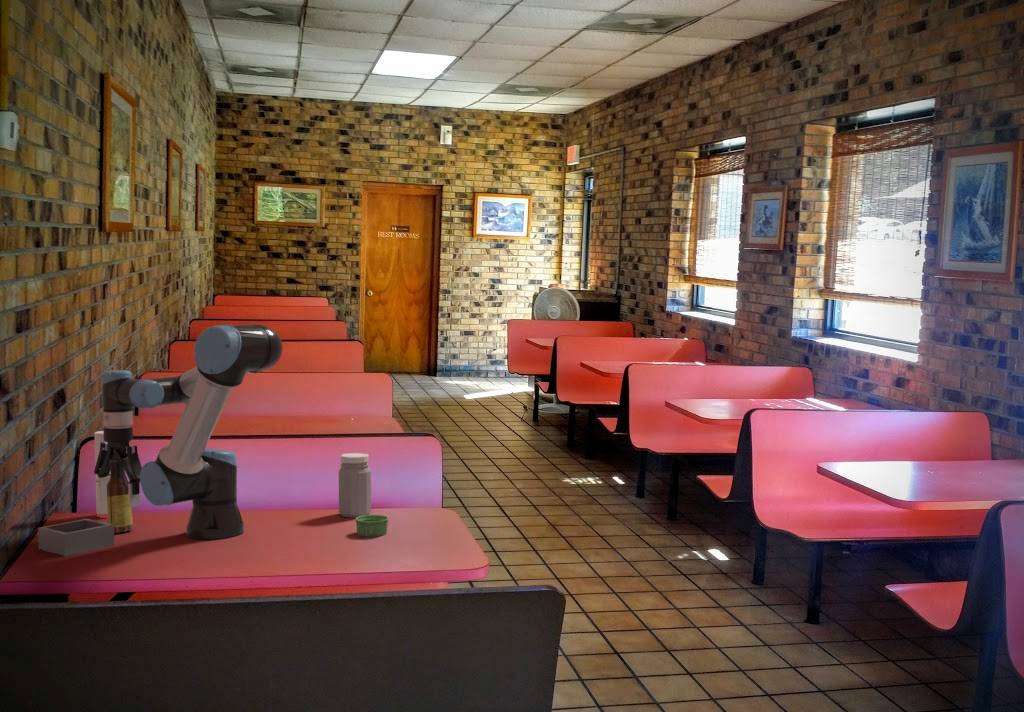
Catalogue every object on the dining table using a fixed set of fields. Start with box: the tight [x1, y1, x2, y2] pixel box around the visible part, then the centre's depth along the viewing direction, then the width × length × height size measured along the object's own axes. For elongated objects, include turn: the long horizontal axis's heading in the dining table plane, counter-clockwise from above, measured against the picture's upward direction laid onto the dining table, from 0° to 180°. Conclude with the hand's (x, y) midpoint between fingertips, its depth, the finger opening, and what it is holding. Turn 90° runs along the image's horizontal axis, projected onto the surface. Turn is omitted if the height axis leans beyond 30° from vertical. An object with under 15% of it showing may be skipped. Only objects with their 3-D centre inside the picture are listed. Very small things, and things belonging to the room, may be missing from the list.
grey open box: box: [37, 518, 115, 557], centre depth 255 cm, size 12×13×6 cm
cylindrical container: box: [94, 430, 111, 514], centre depth 292 cm, size 7×7×25 cm
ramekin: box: [354, 514, 389, 538], centre depth 271 cm, size 9×9×4 cm
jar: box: [338, 452, 372, 519], centre depth 294 cm, size 10×10×18 cm
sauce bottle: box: [107, 460, 134, 534], centre depth 272 cm, size 6×6×20 cm
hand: (119, 503), depth 272 cm, fingers open, 13 cm apart
